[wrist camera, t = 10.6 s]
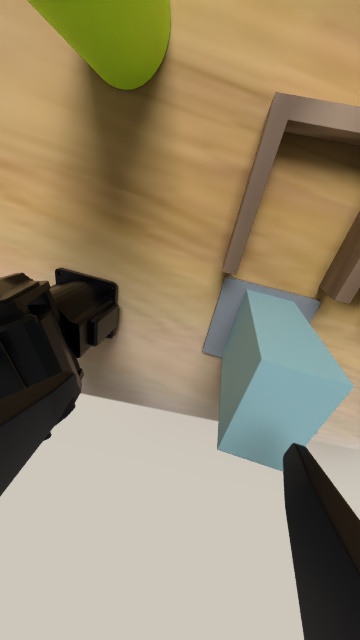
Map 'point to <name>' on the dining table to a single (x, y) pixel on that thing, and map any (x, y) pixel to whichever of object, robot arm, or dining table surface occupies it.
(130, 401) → the dining table surface
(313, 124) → the walnut rack
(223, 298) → the slate mat
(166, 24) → the soap dispenser
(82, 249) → the dining table surface
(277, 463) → the light blue rectangular prism
